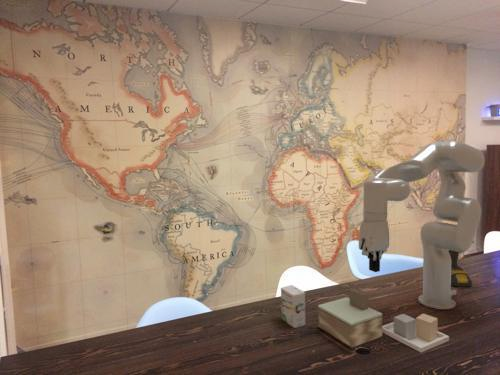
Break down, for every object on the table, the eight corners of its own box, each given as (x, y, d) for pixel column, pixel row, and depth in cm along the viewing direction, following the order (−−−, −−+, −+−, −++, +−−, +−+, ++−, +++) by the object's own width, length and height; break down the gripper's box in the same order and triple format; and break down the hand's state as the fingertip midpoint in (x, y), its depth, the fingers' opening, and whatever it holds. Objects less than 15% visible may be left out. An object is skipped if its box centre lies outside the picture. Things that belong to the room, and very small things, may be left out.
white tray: (406, 322, 121) (406, 317, 121) (448, 342, 107) (449, 336, 107) (379, 332, 115) (379, 326, 114) (421, 354, 101) (421, 348, 101)
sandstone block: (422, 331, 113) (423, 313, 113) (437, 336, 110) (437, 318, 109) (416, 336, 111) (416, 317, 110) (430, 341, 107) (430, 322, 107)
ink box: (280, 318, 127) (280, 287, 126) (292, 315, 129) (291, 284, 128) (294, 328, 119) (293, 294, 118) (306, 325, 121) (305, 292, 120)
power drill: (483, 292, 145) (485, 232, 143) (461, 293, 145) (462, 233, 143) (455, 276, 165) (456, 223, 163) (436, 276, 165) (437, 224, 163)
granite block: (403, 331, 114) (403, 313, 113) (415, 337, 110) (415, 319, 109) (393, 335, 112) (393, 317, 111) (405, 341, 108) (406, 322, 107)
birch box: (347, 318, 125) (347, 299, 124) (382, 338, 111) (382, 316, 111) (318, 328, 119) (317, 308, 118) (351, 349, 105) (351, 327, 105)
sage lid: (347, 299, 124) (346, 283, 124) (382, 315, 111) (382, 298, 110) (317, 307, 118) (317, 290, 118) (351, 326, 105) (351, 307, 104)
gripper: (381, 213, 124) (381, 264, 126) (350, 217, 117) (349, 271, 119) (399, 216, 118) (398, 270, 119) (367, 220, 111) (366, 277, 112)
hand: (374, 270), depth 119 cm, fingers closed
